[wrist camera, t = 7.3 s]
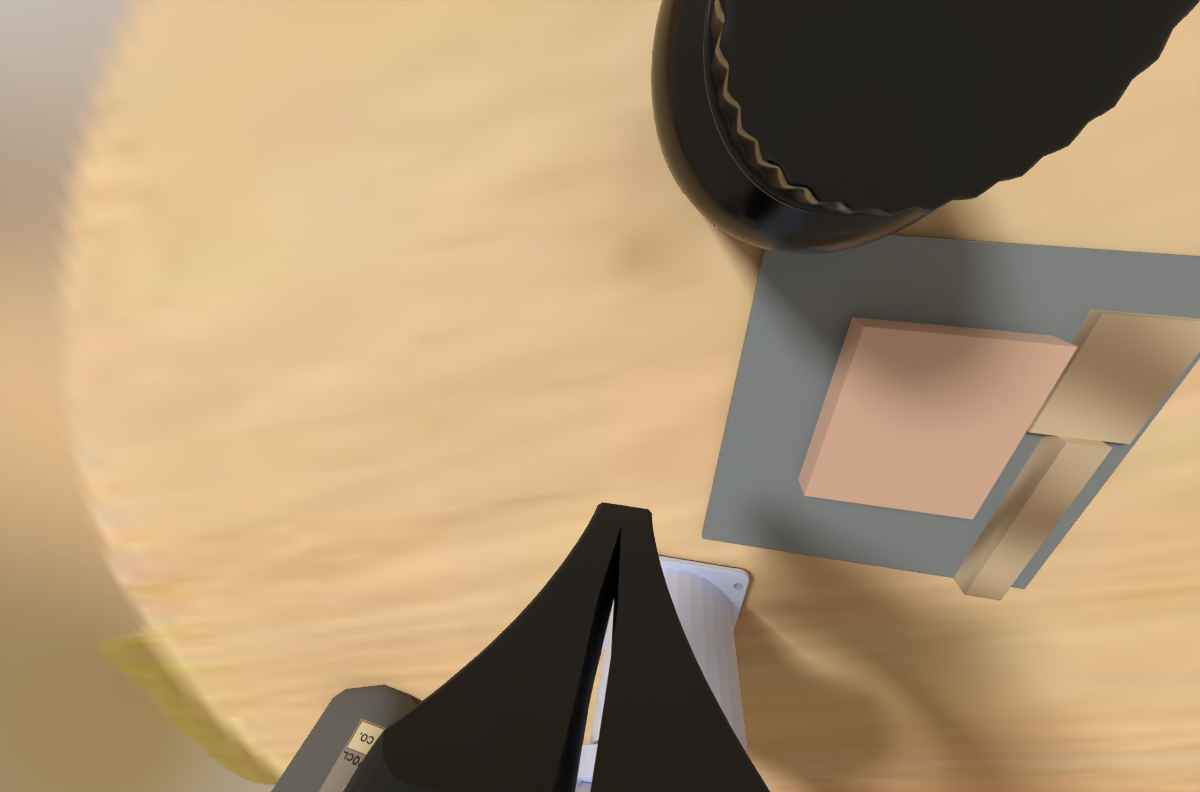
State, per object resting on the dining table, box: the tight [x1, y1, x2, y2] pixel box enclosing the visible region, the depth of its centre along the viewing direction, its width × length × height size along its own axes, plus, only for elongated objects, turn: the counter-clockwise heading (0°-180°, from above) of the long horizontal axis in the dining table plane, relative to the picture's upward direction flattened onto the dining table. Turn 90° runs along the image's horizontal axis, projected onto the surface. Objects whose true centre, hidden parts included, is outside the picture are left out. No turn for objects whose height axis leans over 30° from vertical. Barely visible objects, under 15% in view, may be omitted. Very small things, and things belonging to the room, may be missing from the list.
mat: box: [702, 235, 1200, 589], centre depth 19 cm, size 16×16×1 cm
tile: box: [798, 317, 1077, 520], centre depth 18 cm, size 8×2×7 cm
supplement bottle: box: [651, 0, 1200, 254], centre depth 10 cm, size 7×7×12 cm
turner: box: [954, 309, 1200, 600], centre depth 18 cm, size 14×4×1 cm, turn 177°
